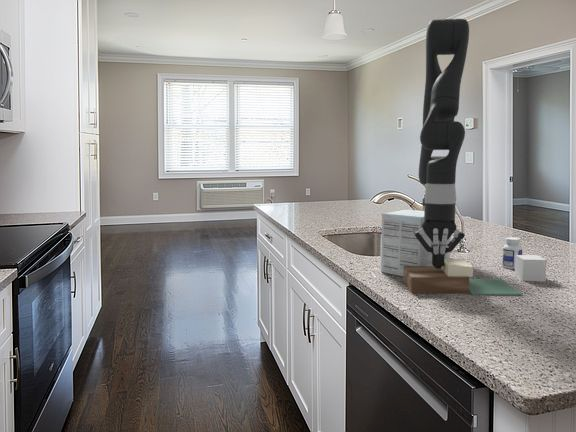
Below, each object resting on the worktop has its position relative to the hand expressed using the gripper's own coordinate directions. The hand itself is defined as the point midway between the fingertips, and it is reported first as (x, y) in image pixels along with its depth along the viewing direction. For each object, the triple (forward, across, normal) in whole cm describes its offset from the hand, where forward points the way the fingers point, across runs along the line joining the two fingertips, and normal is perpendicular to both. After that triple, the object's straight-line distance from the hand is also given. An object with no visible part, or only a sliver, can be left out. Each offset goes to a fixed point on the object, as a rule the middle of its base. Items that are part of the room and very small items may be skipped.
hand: (437, 267), depth 128 cm
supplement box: (+5, +4, -16) cm, 17 cm away
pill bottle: (+5, -27, -23) cm, 36 cm away
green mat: (+5, -13, 0) cm, 14 cm away
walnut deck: (+5, +1, 0) cm, 5 cm away
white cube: (+5, -27, -10) cm, 30 cm away
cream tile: (+1, -5, 0) cm, 5 cm away
